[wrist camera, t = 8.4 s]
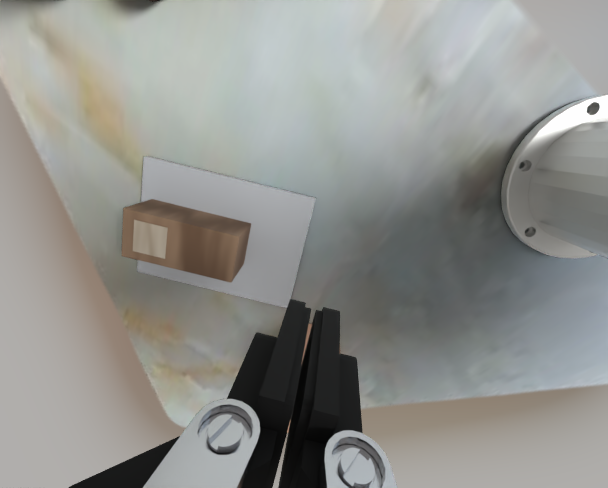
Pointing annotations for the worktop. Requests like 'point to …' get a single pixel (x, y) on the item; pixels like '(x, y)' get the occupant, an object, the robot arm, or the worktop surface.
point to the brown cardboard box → (185, 239)
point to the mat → (244, 207)
